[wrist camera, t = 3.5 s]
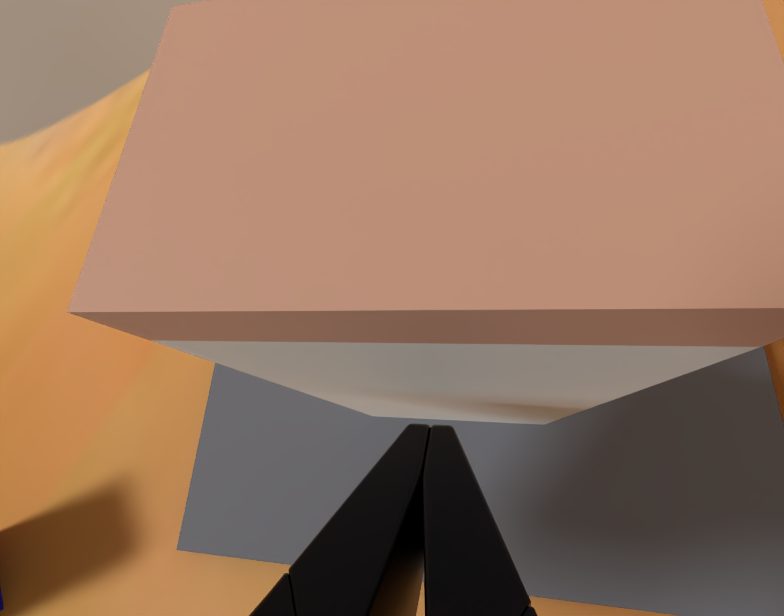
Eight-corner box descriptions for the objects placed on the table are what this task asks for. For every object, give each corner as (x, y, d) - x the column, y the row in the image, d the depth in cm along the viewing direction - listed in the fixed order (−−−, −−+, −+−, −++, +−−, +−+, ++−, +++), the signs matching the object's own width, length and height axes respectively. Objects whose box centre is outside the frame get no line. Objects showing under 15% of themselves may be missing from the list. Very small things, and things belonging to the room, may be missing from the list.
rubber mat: (819, 626, 11) (836, 635, 10) (187, 546, 15) (176, 549, 14) (671, 18, 19) (677, 5, 18) (282, 70, 23) (277, 61, 22)
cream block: (544, 424, 14) (870, 308, 2) (373, 416, 15) (66, 312, 4) (537, 313, 15) (728, -95, 4) (380, 313, 16) (172, 6, 5)
